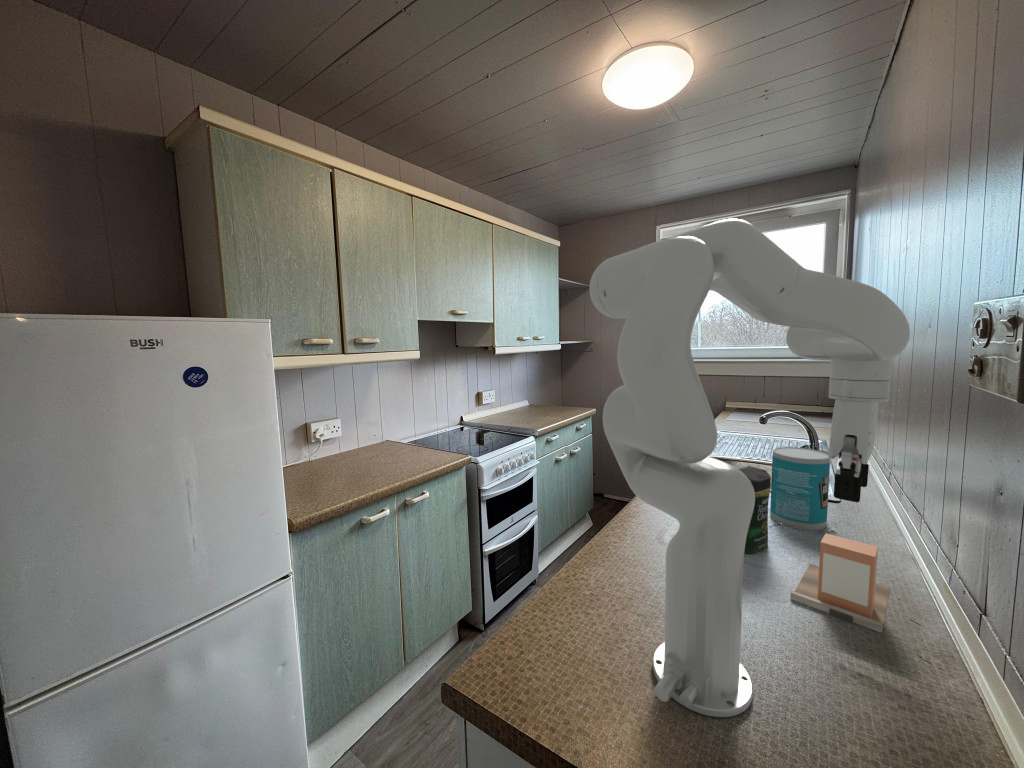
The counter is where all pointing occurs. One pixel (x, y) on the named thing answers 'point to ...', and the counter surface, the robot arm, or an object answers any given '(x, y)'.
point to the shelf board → (809, 597)
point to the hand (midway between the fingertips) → (850, 492)
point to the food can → (800, 487)
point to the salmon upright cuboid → (847, 574)
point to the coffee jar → (758, 510)
